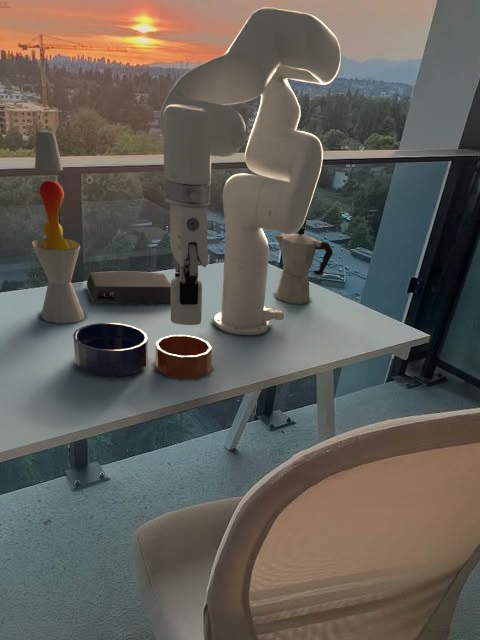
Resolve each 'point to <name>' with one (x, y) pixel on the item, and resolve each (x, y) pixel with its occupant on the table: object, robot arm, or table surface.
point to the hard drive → (128, 287)
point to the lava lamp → (55, 240)
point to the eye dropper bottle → (184, 312)
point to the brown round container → (183, 356)
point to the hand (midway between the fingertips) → (186, 298)
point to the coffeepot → (299, 265)
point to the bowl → (110, 349)
